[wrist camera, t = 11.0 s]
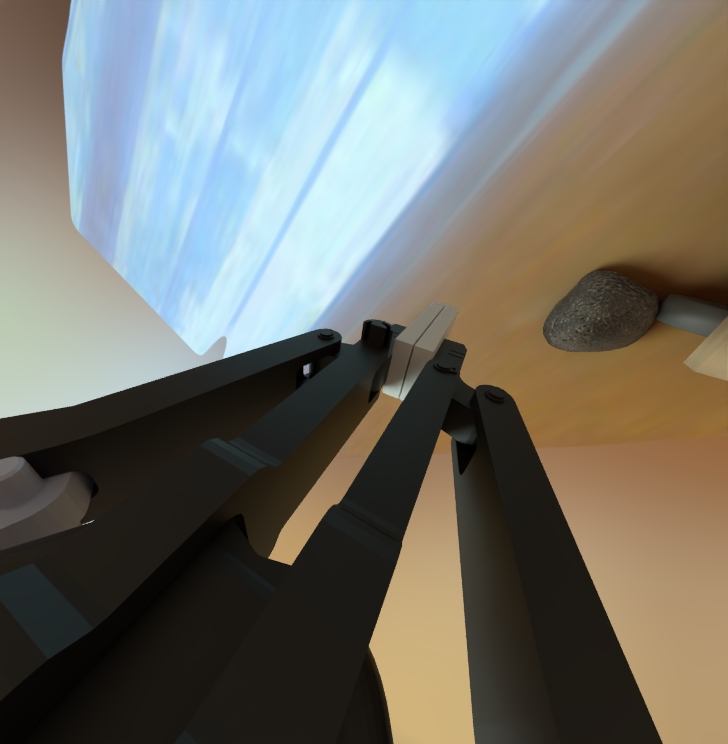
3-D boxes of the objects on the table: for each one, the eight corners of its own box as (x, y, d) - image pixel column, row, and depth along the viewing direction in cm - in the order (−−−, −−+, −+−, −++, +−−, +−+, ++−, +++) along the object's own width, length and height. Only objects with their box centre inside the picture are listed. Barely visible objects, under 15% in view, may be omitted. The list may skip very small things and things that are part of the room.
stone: (639, 273, 31) (604, 240, 26) (691, 330, 27) (660, 303, 22) (554, 323, 38) (515, 305, 34) (585, 374, 34) (545, 361, 29)
